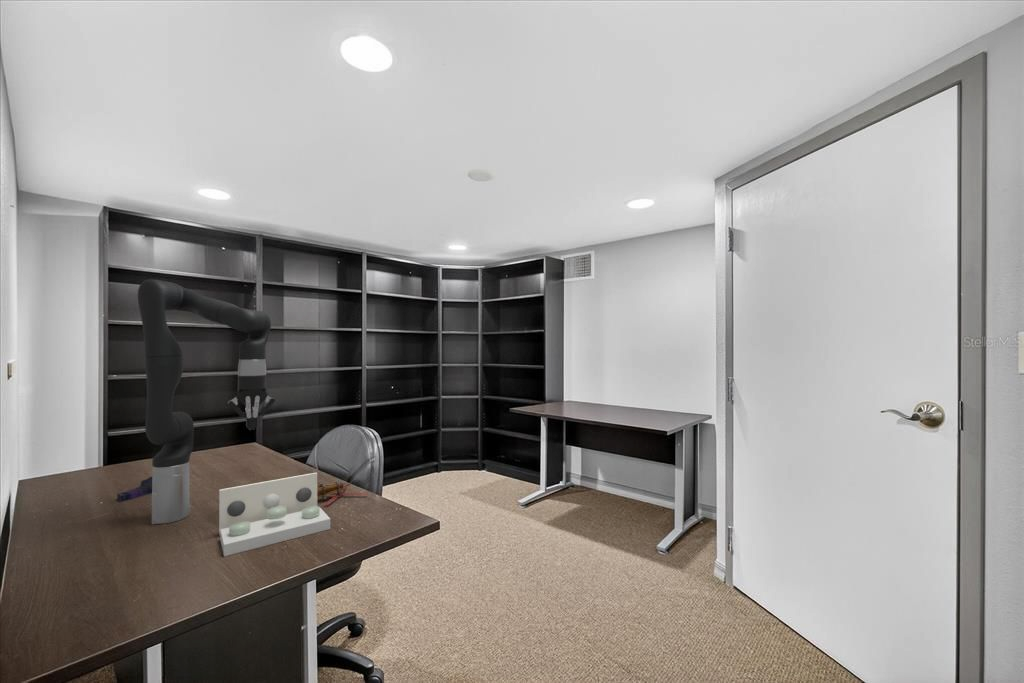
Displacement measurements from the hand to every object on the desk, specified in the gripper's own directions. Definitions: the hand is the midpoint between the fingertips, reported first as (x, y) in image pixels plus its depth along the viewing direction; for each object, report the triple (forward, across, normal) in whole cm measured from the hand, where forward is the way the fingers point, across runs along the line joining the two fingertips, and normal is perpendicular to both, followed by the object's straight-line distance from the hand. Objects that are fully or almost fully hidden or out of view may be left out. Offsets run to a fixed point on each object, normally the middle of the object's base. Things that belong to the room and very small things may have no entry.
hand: (251, 429), depth 132 cm
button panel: (+28, -5, +16) cm, 33 cm away
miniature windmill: (+28, -20, -4) cm, 35 cm away
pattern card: (+28, -5, +7) cm, 29 cm away
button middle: (+23, -5, +16) cm, 28 cm away
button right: (+25, -14, +16) cm, 33 cm away
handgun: (+30, +30, -60) cm, 73 cm away
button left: (+25, +4, +16) cm, 30 cm away
